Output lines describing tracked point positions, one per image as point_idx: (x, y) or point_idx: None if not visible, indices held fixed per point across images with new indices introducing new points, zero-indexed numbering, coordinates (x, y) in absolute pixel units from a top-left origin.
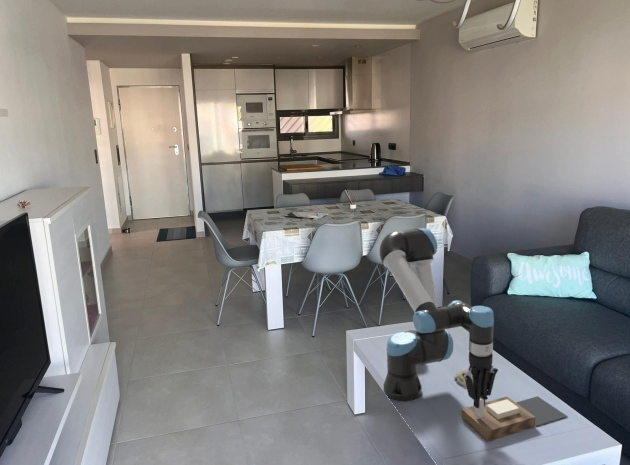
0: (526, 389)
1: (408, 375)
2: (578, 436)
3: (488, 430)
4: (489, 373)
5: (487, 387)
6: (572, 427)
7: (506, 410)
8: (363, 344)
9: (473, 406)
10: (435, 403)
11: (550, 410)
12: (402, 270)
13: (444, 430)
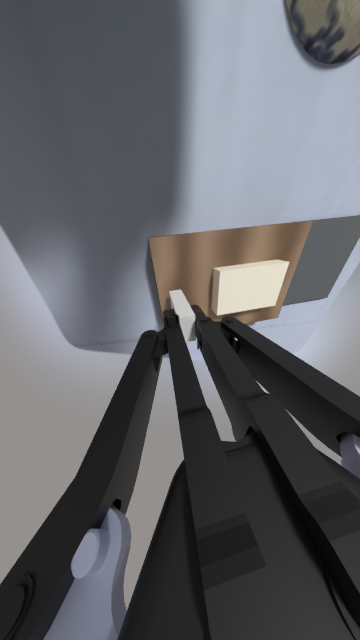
0: None
1: None
2: (287, 335)
3: None
4: (332, 422)
5: (239, 353)
6: (302, 319)
7: (244, 307)
8: None
9: (191, 238)
10: (80, 67)
11: (327, 275)
12: None
13: (85, 271)
